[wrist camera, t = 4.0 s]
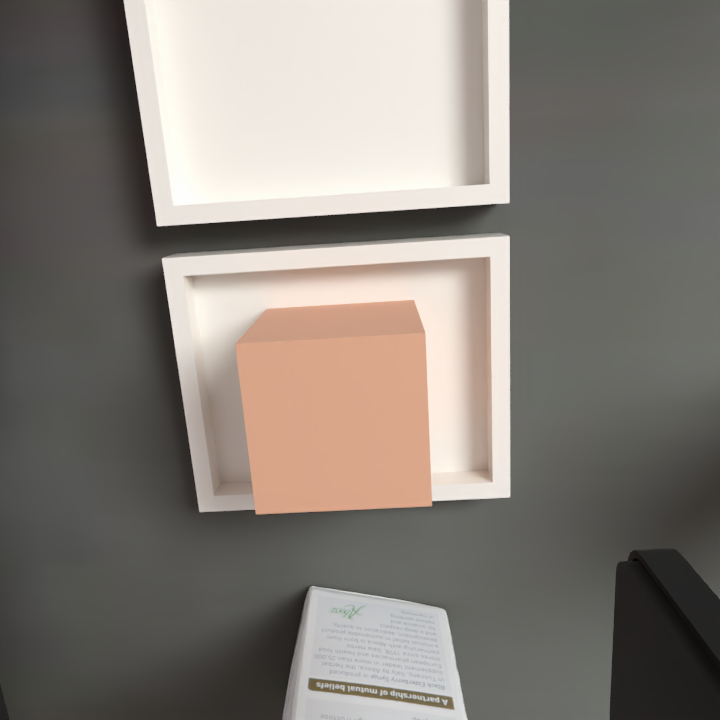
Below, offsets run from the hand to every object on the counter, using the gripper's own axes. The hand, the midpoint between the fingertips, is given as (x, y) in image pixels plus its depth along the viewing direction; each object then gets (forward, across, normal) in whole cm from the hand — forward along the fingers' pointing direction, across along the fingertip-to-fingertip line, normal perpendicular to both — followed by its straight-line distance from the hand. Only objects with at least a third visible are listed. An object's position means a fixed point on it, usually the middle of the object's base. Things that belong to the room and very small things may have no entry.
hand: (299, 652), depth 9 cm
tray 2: (+14, 0, 0) cm, 14 cm away
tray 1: (+14, 0, -10) cm, 17 cm away
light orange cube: (+13, 0, 0) cm, 13 cm away
